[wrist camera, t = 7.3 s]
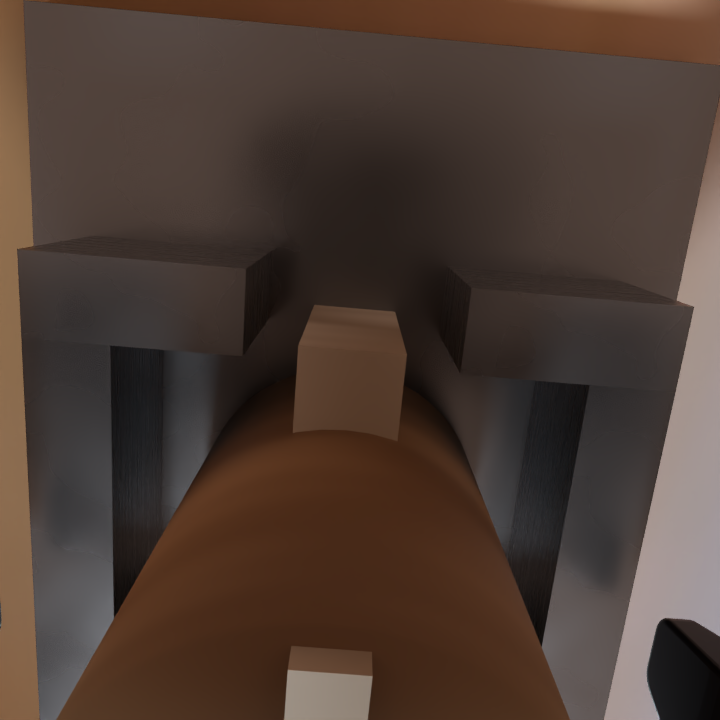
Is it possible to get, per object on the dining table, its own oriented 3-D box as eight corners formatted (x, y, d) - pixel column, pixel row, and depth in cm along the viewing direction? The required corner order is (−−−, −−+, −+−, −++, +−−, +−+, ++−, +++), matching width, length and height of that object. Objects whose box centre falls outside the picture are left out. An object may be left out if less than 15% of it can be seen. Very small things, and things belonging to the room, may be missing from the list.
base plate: (73, 782, 15) (-6, 945, 12) (47, 13, 11) (-84, -60, 8) (549, 816, 15) (600, 983, 12) (700, 74, 11) (838, 28, 8)
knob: (201, 603, 13) (7, 1108, 6) (209, 295, 11) (-40, 476, 4) (454, 622, 13) (566, 1143, 6) (498, 320, 11) (720, 534, 4)
